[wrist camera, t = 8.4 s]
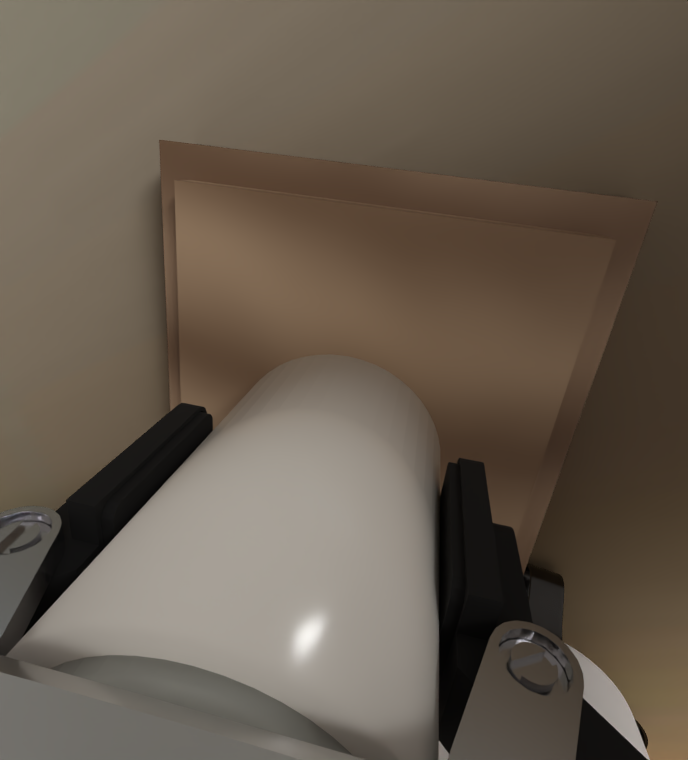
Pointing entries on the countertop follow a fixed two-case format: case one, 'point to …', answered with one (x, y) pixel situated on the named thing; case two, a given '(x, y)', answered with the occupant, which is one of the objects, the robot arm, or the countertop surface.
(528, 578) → the coffee press
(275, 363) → the plinth
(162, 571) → the canister
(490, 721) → the robot arm
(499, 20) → the countertop surface
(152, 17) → the countertop surface
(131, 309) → the countertop surface
